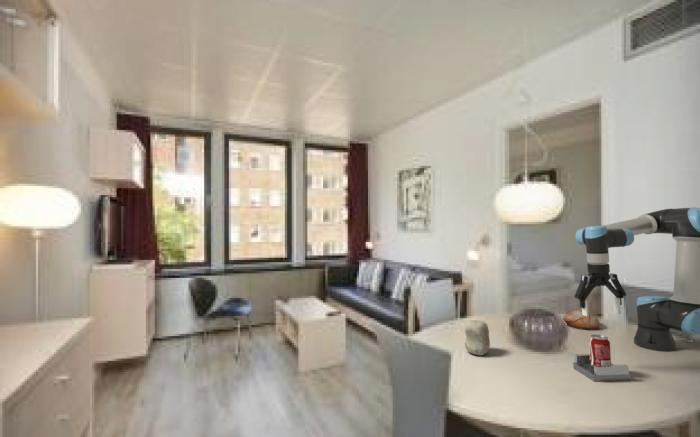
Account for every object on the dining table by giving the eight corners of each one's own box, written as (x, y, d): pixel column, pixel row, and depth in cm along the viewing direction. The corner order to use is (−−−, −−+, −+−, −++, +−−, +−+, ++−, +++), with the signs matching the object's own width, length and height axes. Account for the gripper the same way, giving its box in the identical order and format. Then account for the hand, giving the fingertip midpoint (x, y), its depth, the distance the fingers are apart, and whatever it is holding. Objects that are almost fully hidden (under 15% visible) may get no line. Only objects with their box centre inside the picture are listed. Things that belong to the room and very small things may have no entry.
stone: (480, 359, 159) (478, 325, 159) (460, 352, 167) (458, 320, 168) (494, 352, 165) (493, 320, 165) (474, 346, 174) (473, 316, 174)
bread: (591, 334, 188) (590, 316, 188) (555, 325, 206) (554, 308, 206) (608, 327, 196) (607, 309, 195) (572, 319, 213) (571, 302, 213)
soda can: (614, 371, 136) (613, 339, 136) (595, 370, 137) (593, 339, 137) (605, 364, 142) (604, 334, 142) (587, 363, 144) (585, 333, 144)
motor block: (606, 366, 146) (605, 353, 146) (631, 380, 133) (630, 366, 133) (572, 367, 146) (572, 354, 146) (594, 382, 133) (594, 367, 133)
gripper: (620, 260, 150) (623, 309, 150) (562, 264, 149) (566, 314, 149) (634, 262, 143) (638, 314, 143) (574, 266, 142) (578, 319, 142)
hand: (601, 314), depth 146 cm, fingers open, 13 cm apart
